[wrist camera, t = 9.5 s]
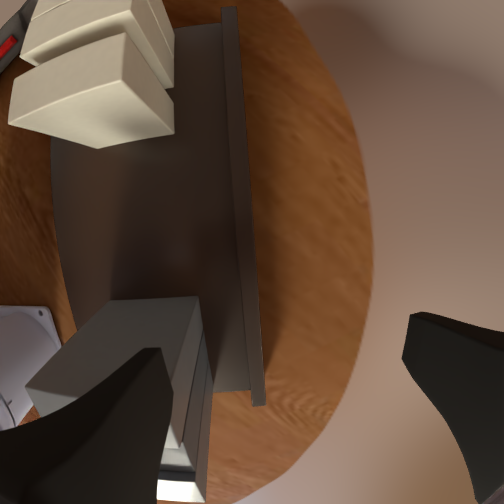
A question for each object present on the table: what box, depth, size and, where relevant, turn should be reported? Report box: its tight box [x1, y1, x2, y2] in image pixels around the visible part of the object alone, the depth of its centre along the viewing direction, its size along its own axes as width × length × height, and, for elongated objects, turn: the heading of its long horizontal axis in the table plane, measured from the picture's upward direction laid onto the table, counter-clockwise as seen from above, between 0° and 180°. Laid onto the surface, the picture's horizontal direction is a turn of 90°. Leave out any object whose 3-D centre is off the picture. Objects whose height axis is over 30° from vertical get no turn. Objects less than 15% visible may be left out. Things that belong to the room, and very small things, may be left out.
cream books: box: [20, 0, 175, 89], centre depth 10 cm, size 6×4×9 cm
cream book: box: [8, 32, 175, 149], centre depth 11 cm, size 6×2×9 cm, turn 94°
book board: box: [51, 6, 266, 407], centre depth 16 cm, size 14×27×3 cm, turn 4°
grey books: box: [25, 296, 213, 502], centre depth 13 cm, size 6×7×10 cm
